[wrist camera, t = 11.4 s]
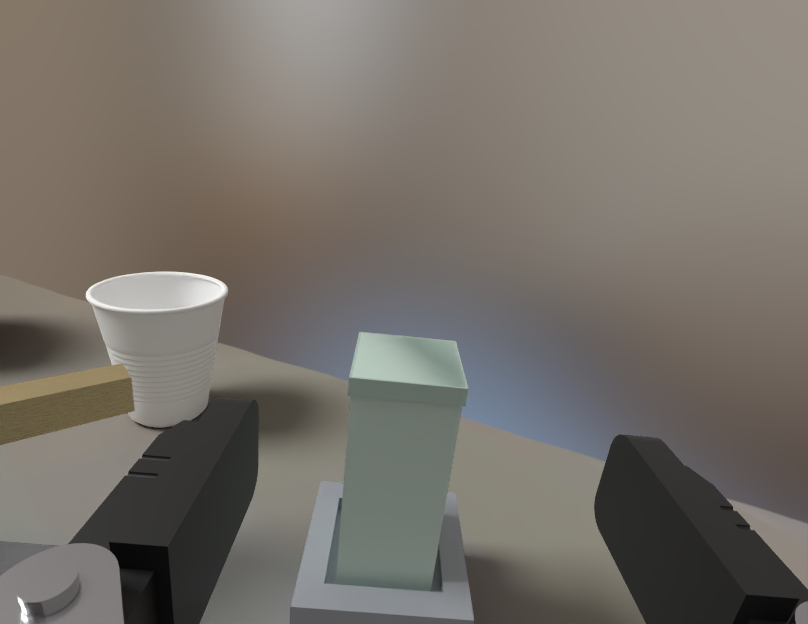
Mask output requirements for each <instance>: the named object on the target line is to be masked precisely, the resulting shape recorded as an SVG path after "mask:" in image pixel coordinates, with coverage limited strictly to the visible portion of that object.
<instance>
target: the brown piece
mask: <svg viewBox="0 0 808 624" xmlns="http://www.w3.org/2000/svg"><path fill="white" fill-rule="evenodd" d="M133 411H135V409H134V398H133V388H132V378H131V376H130V374H129V373H128V371H127V369H126V368H125V366H124V364H123V363H121V364H116V365H111V366H106V367H100V368H95V369H90V370H85V371H80V372H74V373H69V374H64V375H59V376H53V377H48V378H43V379H38V380H33V381H27V382H22V383H17V384H12V385H6V386H1V387H0V445H2V444H6V443H10V442H14V441H18V440H22V439H26V438H30V437H34V436H38V435H42V434H46V433H50V432H54V431H58V430H62V429H66V428H70V427H74V426H78V425H82V424H86V423H89V422H93V421H97V420H101V419H105V418H109V417H113V416H117V415H121V414H125V413H129V412H133Z"/></svg>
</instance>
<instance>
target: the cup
mask: <svg viewBox="0 0 808 624" xmlns="http://www.w3.org/2000/svg"><path fill="white" fill-rule="evenodd" d="M227 294H228V288H227V286H226V285H225V284H224V283H223V282H221V281H220V280H217V279H215V278H212V277H208V276H204V275H199V274H193V273H184V272H146V273H136V274H129V275H123V276H118V277H113V278H110V279H107V280H104V281H101V282H99V283H96V284H95V285H93V286H92V287H90V288H89V289H88V291H87V292H86V299H87V300H88V301H89V303H90V304H92V307H93V310H94V313H95V316H96V319H97V322H98V325H99V328H100V331H101V334H102V337H103V340H104V342H105V344H106V348H107V350H108V354H109V357H110V359H111V363H112V365H116V364H121V363H123V364H124V366H125V368H126V369H127V371H128V373H129V374H130V376H131V378H132V388H133V398H134V409H135V411H133V412H129V413H128V414H129V416H130V418H131V419H133V420H134V421H135V422H138V423H140V424H142V425H145V426H148V427H156V428H163V427H172V426H174V425H176V424H178V423H179V422H181V421H183V420H188V421H191V420H192V419H194V418H196V417H197V416H198V415H199V414H200V413H202V412H203V411H204V410H205V408H206V407H207V404H208V399H209V393H210V386H211V379H212V371H213V365H214V360H215V354H216V345H217V340H218V334H219V329H220V323H221V317H222V310H223V304H224V298H225V297H226V296H227Z"/></svg>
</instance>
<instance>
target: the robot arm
mask: <svg viewBox="0 0 808 624" xmlns="http://www.w3.org/2000/svg"><path fill="white" fill-rule="evenodd" d="M257 474H258V404H257V401H256V400H248V399H238V398H227V397H216V398H214V399H213V401H212V402H211V403H210V405H209V406H208V407H207V409H206V410H205V412H204V413H203V414H202V416H201V417H200V418H199V420H198V421H188V420H183V421H181V422H179V423H178V424H176V425H174V426H173V427H171V428H170V429H168V430H166V431H165V432H163V433H161V434H160V435H158V437H157V438H156V439H155V440H154V441H153V443H152V444H151V445H150V446H149V447H148V449H147V450H146V451H145V452H144V453H143V455H142V459H138V461H137V462H136V463H135V464H134V465H133V467H132V468H131V469H130V470H129V473H128V476H124V478H123V479H122V480H121V481H120V482H119V484H118V485H117V486H116V487H115V488H114V490H113V491H112V492H111V493H110V494H109V496H108V497H107V498H106V499H105V500H104V502H103V503H102V504H101V505H100V506H99V508H98V509H97V510H96V511H95V512H94V514H93V515H92V516H91V517H90V518H89V520H88V521H87V522H86V523H85V524H84V526H83V527H82V528H81V529H80V531H79V532H78V533H77V534H76V535H75V537H74V538H73V539H72V540H71V541H70V543H69V544H67V545H62V546H58V547H53V548H50V549H47V550H45V551H42V552H39V553H37V554H35V555H33V556H30V557H28V558H27V559H25V560H23V561H21V562H19V563H18V564H16V565H15V566H13V567H12V568H10V569H9V570H7V571H6V572H5V573H3V574H2V575H1V576H0V624H199V623H200V620H201V618H202V616H203V613H204V611H205V609H206V606H207V604H208V602H209V599H210V597H211V594H212V592H213V590H214V587H215V585H216V583H217V580H218V578H219V575H220V573H221V571H222V568H223V566H224V564H225V561H226V559H227V557H228V554H229V552H230V549H231V547H232V545H233V542H234V540H235V538H236V535H237V533H238V530H239V528H240V526H241V523H242V521H243V519H244V516H245V514H246V511H247V509H248V507H249V504H250V502H251V499H252V497H253V494H254V490H255V486H256V481H257ZM594 509H595V518H596V523H597V526H598V529H599V531H600V533H601V535H602V537H603V539H604V541H605V543H606V545H607V547H608V549H609V551H610V553H611V555H612V557H613V559H614V561H615V563H616V565H617V567H618V569H619V571H620V573H621V575H622V577H623V579H624V581H625V583H626V585H627V587H628V589H629V591H630V593H631V595H632V597H633V598H634V600H635V602H636V604H637V606H638V608H639V610H640V612H641V614H642V616H643V618H644V620H645V622H646V624H808V589H807V588H806V587H805V586H804V585H803V584H802V583H801V582H800V580H799V579H798V578H797V577H796V576H795V575H794V574H793V573H792V572H791V570H790V569H789V568H788V567H787V566H786V565H785V564H784V563H783V562H782V560H781V559H780V558H779V557H778V556H777V555H776V554H775V553H774V552H773V551H772V549H771V548H770V547H769V546H768V545H767V544H766V543H765V542H764V541H763V539H762V538H761V537H760V536H759V535H758V534H757V533H756V532H755V531H754V530H750V525H749V524H748V523H747V522H746V521H745V520H744V518H743V517H742V516H741V515H740V514H739V513H738V512H737V511H733V506H732V505H731V504H730V503H729V502H728V501H727V500H726V499H725V497H724V496H723V495H722V494H721V493H720V492H719V491H718V490H717V489H716V487H715V486H714V485H712V484H711V483H709V482H708V481H707V480H705V479H704V478H703V477H701V476H700V475H698V474H697V473H696V472H694V471H693V470H691V469H690V468H689V467H687V466H684V465H683V464H682V463H681V461H680V460H679V459H678V458H677V457H676V456H675V454H674V453H673V452H672V451H671V450H670V449H669V448H668V446H667V445H666V444H665V443H664V442H663V441H662V440H661V439H659V438H653V437H642V436H631V435H618V436H616V437H615V438H614V440H613V441H612V444H611V447H610V450H609V454H608V457H607V460H606V463H605V466H604V470H603V473H602V476H601V480H600V483H599V486H598V490H597V493H596V497H595V505H594Z"/></svg>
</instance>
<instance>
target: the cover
mask: <svg viewBox="0 0 808 624" xmlns="http://www.w3.org/2000/svg"><path fill="white" fill-rule="evenodd" d="M467 393H468V386H467V383H466V378H465V375H464V371H463V367H462V363H461V359H460V356H459V352H458V348H457V344H456V341H448V340H437V339H426V338H417V337H407V336H397V335H387V334H376V333H366V332H359V336H358V341H357V345H356V350H355V354H354V359H353V363H352V367H351V372H350V376H349V386H348V396H350V408H349V421H348V434H347V447H346V459H345V472H344V485H343V498H342V510H341V523H340V536H339V549H338V562H337V574H336V584H339V585H352V586H365V587H378V588H391V589H404V590H416V591H429V592H431V586H432V580H433V574H434V568H435V563H436V557H437V551H438V545H439V539H440V533H441V528H442V522H443V516H444V510H445V504H446V498H447V492H448V487H449V481H450V475H451V469H452V463H453V457H454V451H455V446H456V440H457V434H458V428H459V422H460V416H461V410H462V406H465V405H466V398H467Z"/></svg>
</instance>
